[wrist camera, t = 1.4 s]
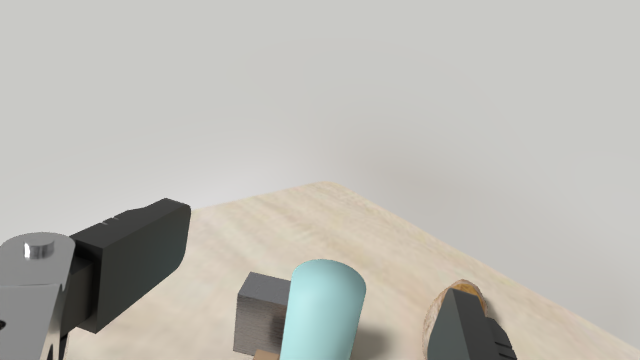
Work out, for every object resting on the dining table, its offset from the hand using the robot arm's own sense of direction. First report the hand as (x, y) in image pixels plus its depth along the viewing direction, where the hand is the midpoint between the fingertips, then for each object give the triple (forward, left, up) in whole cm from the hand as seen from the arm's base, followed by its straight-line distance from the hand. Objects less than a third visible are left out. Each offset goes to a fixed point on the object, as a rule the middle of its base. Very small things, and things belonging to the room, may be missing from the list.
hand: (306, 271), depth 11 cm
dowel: (-6, -4, -20) cm, 21 cm away
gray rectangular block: (-11, -11, -20) cm, 25 cm away
